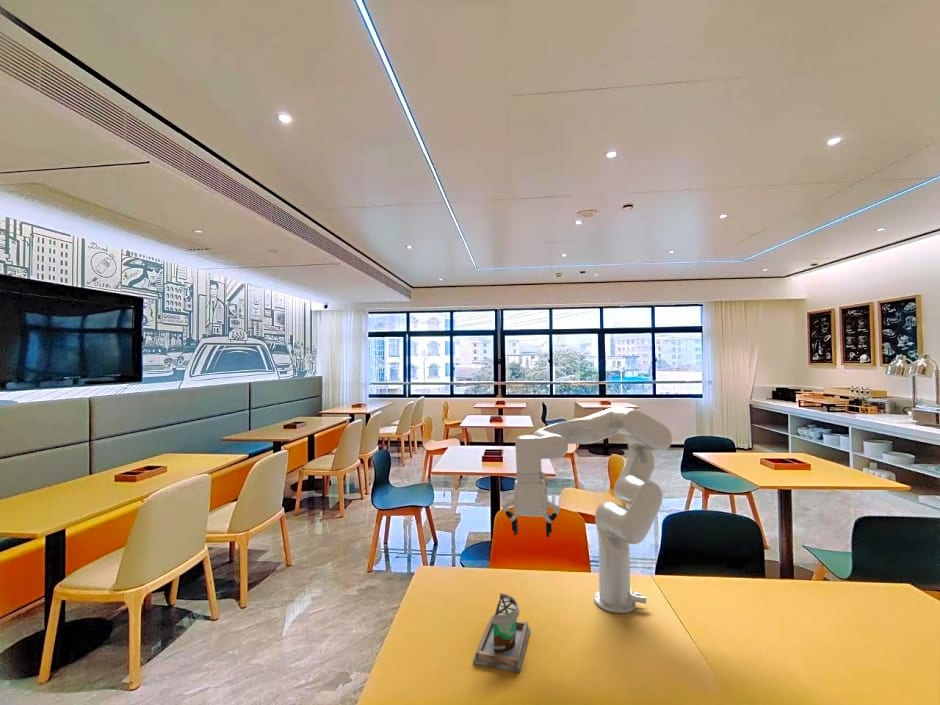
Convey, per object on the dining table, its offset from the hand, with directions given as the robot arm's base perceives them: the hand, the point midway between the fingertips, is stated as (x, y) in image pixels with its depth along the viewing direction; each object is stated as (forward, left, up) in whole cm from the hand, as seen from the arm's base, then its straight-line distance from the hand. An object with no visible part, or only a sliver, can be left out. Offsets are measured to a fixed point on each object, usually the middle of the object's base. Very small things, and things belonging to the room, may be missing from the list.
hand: (531, 534), depth 128 cm
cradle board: (+6, +13, -26) cm, 30 cm away
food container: (+5, +13, -25) cm, 29 cm away
